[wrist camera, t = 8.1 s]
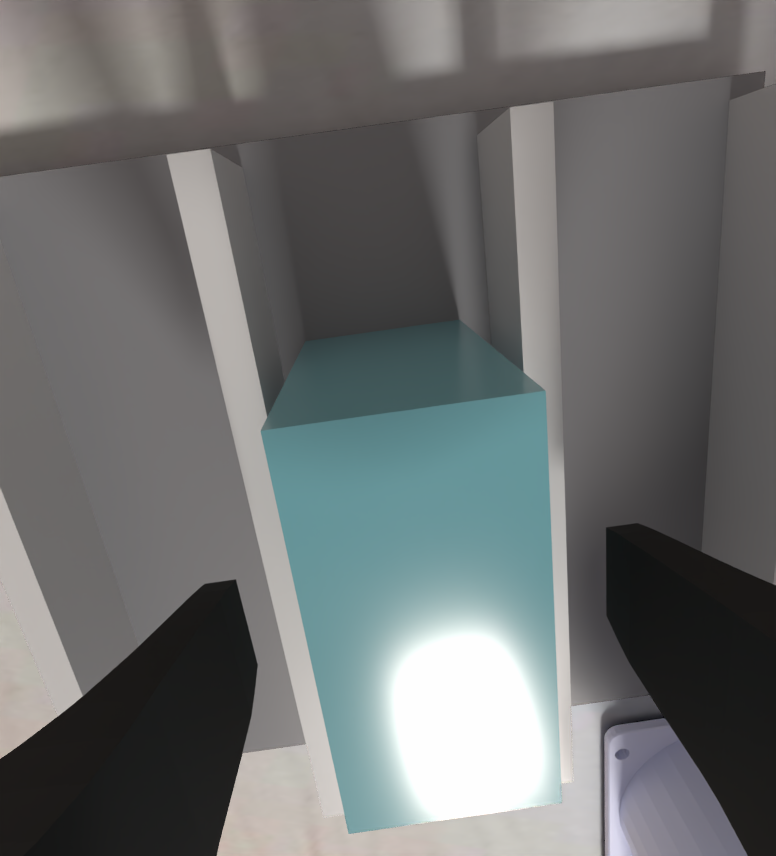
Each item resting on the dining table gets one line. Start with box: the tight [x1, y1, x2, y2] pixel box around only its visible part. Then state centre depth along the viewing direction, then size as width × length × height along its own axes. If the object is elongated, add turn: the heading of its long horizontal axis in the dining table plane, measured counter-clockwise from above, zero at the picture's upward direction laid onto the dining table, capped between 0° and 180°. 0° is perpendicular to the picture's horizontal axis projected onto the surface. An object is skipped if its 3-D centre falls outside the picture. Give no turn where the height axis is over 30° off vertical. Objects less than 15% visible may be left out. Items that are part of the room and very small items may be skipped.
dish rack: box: [0, 71, 776, 818], centre depth 15 cm, size 18×19×4 cm
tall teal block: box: [261, 320, 562, 834], centre depth 12 cm, size 8×4×7 cm, turn 7°
